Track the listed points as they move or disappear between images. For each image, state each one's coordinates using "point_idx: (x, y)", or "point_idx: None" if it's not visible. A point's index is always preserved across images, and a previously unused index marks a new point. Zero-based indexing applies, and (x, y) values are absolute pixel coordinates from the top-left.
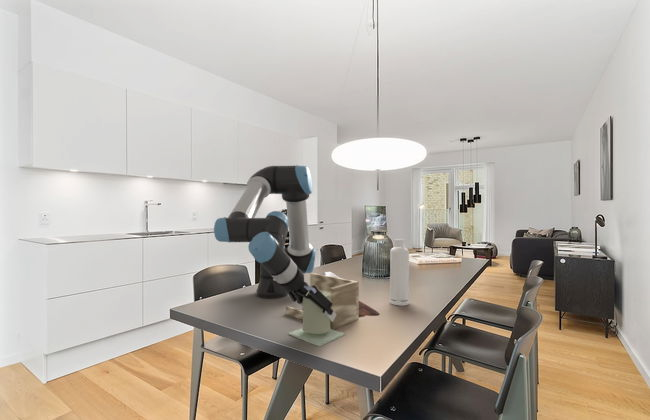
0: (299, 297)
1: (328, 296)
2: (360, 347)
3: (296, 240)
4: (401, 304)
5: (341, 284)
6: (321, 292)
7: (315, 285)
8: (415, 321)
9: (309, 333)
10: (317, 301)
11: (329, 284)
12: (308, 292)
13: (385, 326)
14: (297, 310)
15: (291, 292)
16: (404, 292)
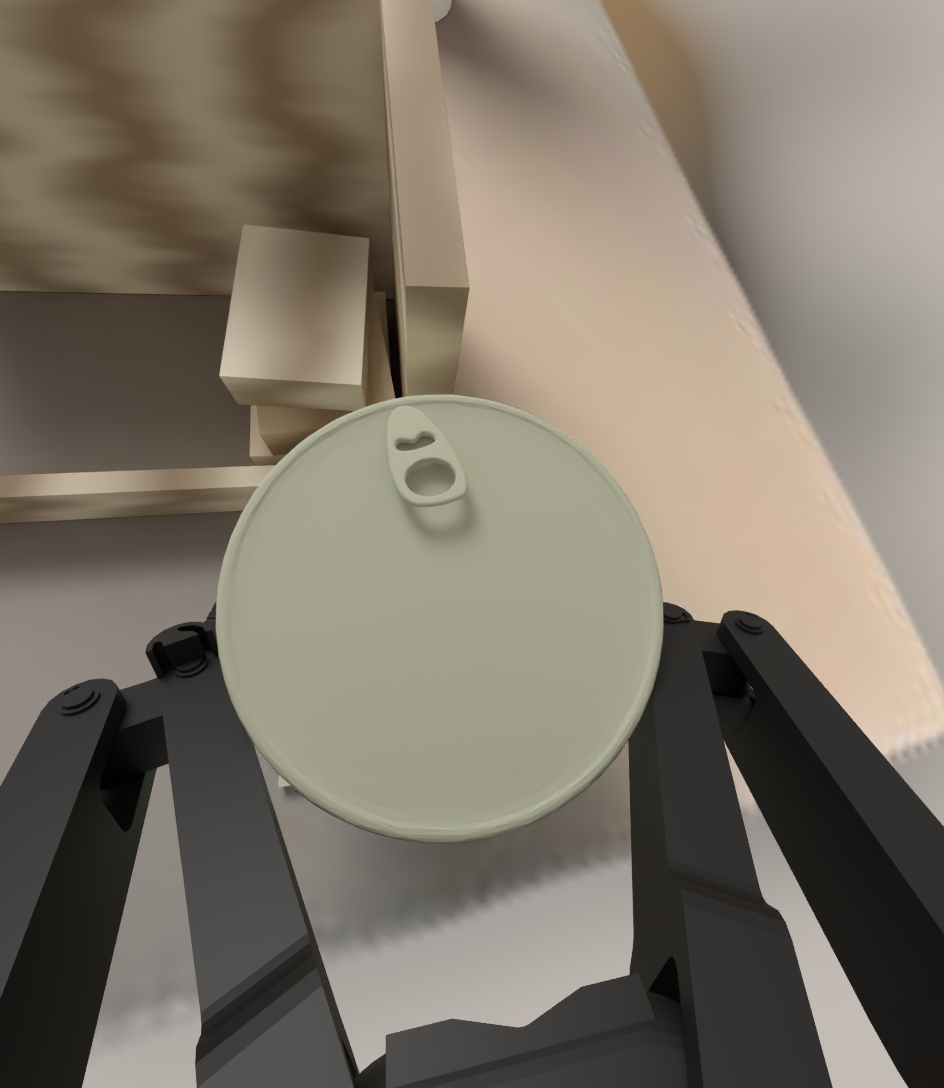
0: (281, 835)
1: (642, 535)
2: (709, 570)
3: None
4: (438, 13)
5: (210, 4)
6: (441, 477)
7: None
8: (628, 163)
9: None
10: (798, 869)
11: (22, 23)
12: (290, 628)
13: (588, 286)
14: (24, 498)
15: (73, 1020)
16: None
